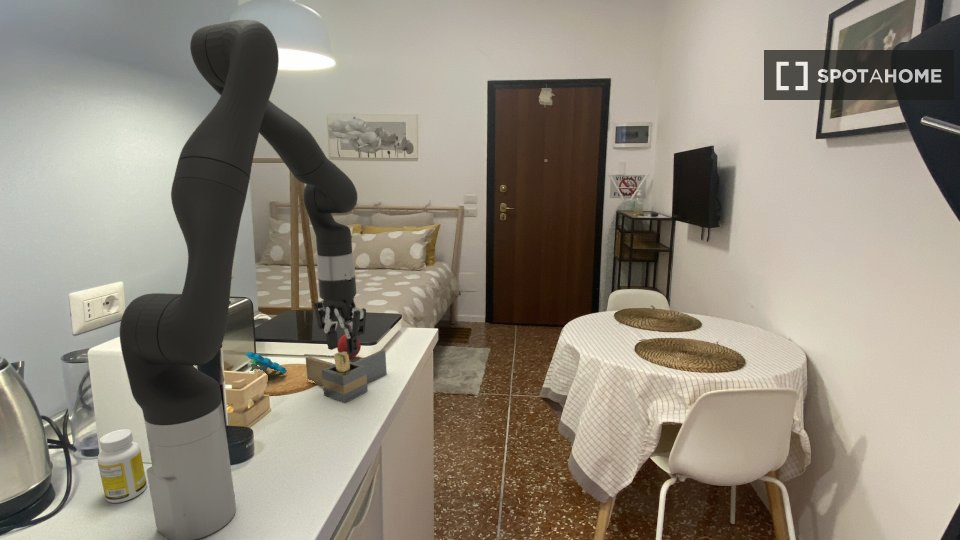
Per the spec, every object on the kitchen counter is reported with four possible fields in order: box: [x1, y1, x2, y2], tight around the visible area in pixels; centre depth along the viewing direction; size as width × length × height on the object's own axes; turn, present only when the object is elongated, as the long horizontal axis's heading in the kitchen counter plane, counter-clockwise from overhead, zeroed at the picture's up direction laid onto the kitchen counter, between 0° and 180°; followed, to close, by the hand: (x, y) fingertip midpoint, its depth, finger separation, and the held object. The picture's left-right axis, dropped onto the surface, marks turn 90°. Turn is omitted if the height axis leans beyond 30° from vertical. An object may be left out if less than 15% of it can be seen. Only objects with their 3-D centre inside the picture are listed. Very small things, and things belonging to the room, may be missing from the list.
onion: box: [336, 333, 362, 361], centre depth 129 cm, size 6×6×8 cm
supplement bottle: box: [97, 428, 148, 504], centre depth 78 cm, size 5×5×10 cm
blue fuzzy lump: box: [245, 351, 288, 374], centre depth 119 cm, size 11×6×10 cm
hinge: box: [305, 349, 387, 404], centre depth 117 cm, size 16×16×6 cm
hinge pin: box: [333, 352, 351, 374], centre depth 111 cm, size 3×3×9 cm
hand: (342, 350), depth 109 cm, fingers open, 5 cm apart
